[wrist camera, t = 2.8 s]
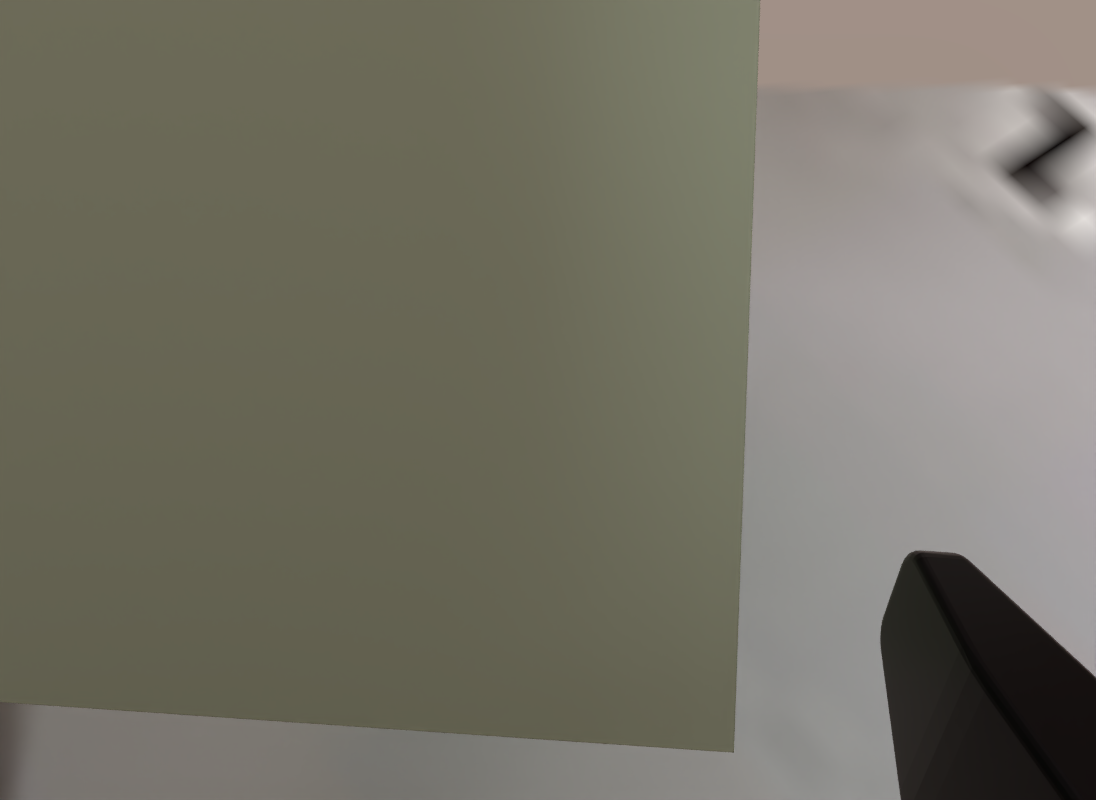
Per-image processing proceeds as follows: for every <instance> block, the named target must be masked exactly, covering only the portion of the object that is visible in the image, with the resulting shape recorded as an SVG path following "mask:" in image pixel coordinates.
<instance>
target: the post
mask: <svg viewBox="0 0 1096 800" xmlns="http://www.w3.org/2000/svg"><path fill="white" fill-rule="evenodd" d="M759 18H760V0H0V702H6V703H20V704H35V705H49V706H64V707H78V708H93V709H107V710H122V711H137V712H151V713H166V714H180V715H195V716H209V717H224V718H239V719H253V720H268V721H282V722H297V723H311V724H326V725H340V726H355V727H370V728H384V729H399V730H413V731H428V732H442V733H457V734H471V735H486V736H501V737H515V738H530V739H544V740H559V741H573V742H588V743H602V744H617V745H632V746H646V747H661V748H675V749H690V750H704V751H719V752H734V731H735V703H736V674H737V646H738V617H739V589H740V560H741V532H742V504H743V475H744V447H745V418H746V390H747V362H748V333H749V305H750V276H751V248H752V219H753V191H754V163H755V134H756V106H757V77H758V49H759V48H758V47H759V20H760V19H759Z"/></svg>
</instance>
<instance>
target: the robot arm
mask: <svg viewBox="0 0 1096 800" xmlns="http://www.w3.org/2000/svg"><path fill="white" fill-rule="evenodd" d="M880 641H881V654H882V661H883V669H884V676H885V684H886V691H887V699H888V706H889V714H890V721H891V729H892V736H893V744H894V752H895V759H896V767H897V774H898V782H899V789H900V796H901V800H1096V677H1095V676H1094V675H1093V674H1092V673H1091V672H1090V671H1089V670H1087V669H1086V668H1085V667H1084V666H1083V665H1082V664H1081V663H1080V662H1079V661H1078V660H1077V659H1076V658H1074V657H1073V656H1072V655H1071V654H1070V653H1069V652H1068V651H1067V650H1066V649H1065V648H1064V647H1062V646H1061V645H1060V644H1059V643H1058V642H1057V641H1056V640H1055V639H1054V638H1053V637H1052V636H1051V635H1049V634H1048V633H1047V632H1046V631H1045V630H1044V629H1043V628H1042V627H1041V626H1040V625H1039V624H1038V623H1036V622H1035V621H1034V620H1033V619H1032V618H1031V617H1030V616H1029V615H1028V614H1027V613H1026V612H1025V611H1023V610H1022V609H1021V608H1020V607H1019V606H1018V605H1017V604H1016V603H1015V602H1014V601H1013V600H1011V599H1010V598H1009V597H1008V596H1007V595H1006V594H1005V593H1004V592H1003V591H1002V590H1001V589H1000V588H998V587H997V586H996V585H995V584H994V583H993V582H992V581H991V580H990V579H989V578H988V577H987V576H985V575H984V574H983V573H982V572H981V571H980V570H979V569H978V568H977V567H976V566H975V565H973V564H972V563H971V562H970V561H969V560H968V559H966V558H965V557H964V556H962V555H960V554H956V553H948V552H934V551H914V552H911V553H909V554H908V555H907V557H906V558H905V559H904V561H903V563H902V565H901V568H900V571H899V574H898V577H897V580H896V583H895V585H894V588H893V591H892V594H891V597H890V600H889V602H888V605H887V608H886V611H885V614H884V617H883V620H882V625H881V635H880Z"/></svg>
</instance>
